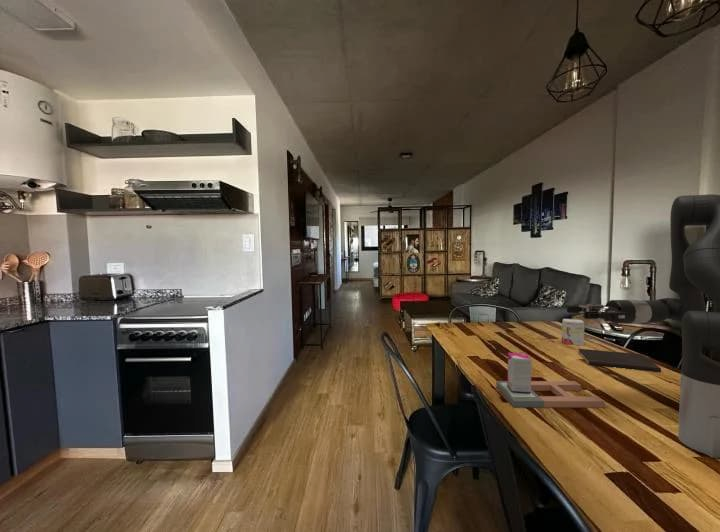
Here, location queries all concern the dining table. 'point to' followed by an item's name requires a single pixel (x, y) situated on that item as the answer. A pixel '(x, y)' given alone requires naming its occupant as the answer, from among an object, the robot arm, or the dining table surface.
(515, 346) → the dining table surface
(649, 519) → the dining table surface
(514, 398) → the board
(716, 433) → the robot arm
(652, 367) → the hardcover book
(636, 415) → the dining table surface
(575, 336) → the ink box
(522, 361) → the supplement box
